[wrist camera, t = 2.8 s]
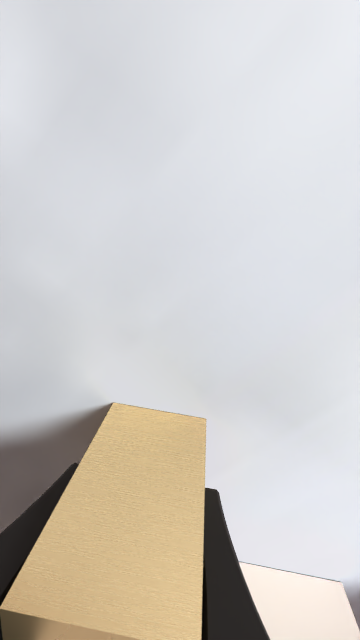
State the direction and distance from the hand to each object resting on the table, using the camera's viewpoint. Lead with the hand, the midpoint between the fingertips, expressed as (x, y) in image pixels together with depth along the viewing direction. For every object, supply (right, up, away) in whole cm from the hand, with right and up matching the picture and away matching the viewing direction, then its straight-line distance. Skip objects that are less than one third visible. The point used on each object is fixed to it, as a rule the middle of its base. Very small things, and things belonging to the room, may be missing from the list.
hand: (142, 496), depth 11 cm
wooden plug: (0, +1, +2) cm, 2 cm away
